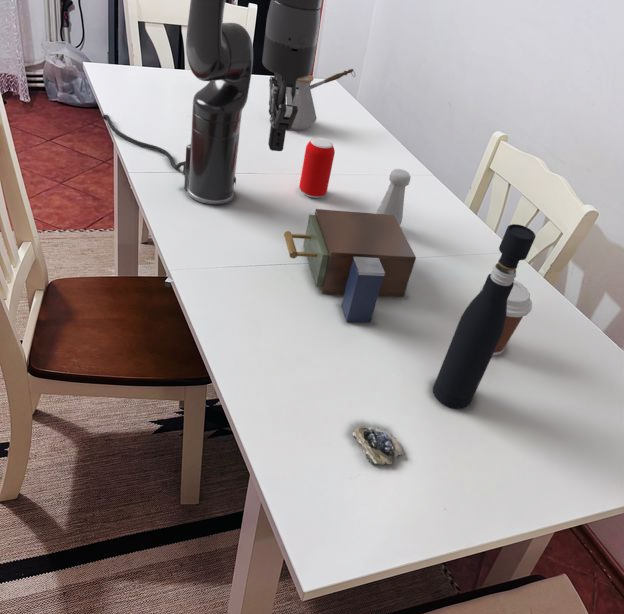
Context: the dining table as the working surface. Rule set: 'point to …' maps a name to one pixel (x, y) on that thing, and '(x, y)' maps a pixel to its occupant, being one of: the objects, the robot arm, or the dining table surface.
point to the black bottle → (481, 324)
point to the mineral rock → (378, 444)
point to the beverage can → (317, 167)
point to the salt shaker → (395, 195)
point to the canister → (362, 289)
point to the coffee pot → (309, 101)
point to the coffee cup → (514, 313)
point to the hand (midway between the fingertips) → (275, 148)
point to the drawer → (311, 249)
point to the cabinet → (365, 249)
